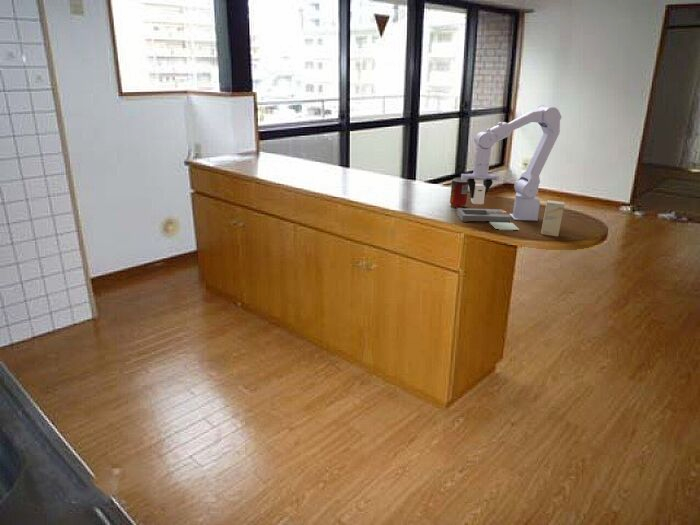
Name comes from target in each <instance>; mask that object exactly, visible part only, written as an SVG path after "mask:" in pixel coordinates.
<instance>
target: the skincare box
mask: <svg viewBox="0 0 700 525" xmlns="http://www.w3.org/2000/svg"><path fill="white" fill-rule="evenodd" d="M565 205H566V202H565V201H557V200H550V199H549V200H548V199H547V200H546V204H545V209H544V214H543V220H542V225H541V231H540V233H541V235H545V236H552V237H559V234H560V229H561V225H562V224H561V223H562V220H563V219H562V218H563V216H564V210H565Z"/></svg>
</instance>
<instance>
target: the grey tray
mask: <svg viewBox="0 0 700 525" xmlns="http://www.w3.org/2000/svg"><path fill="white" fill-rule="evenodd" d="M456 215H457V217H458V216H459V217H460V218H459V217H458V218H459V220H460V221H461V220H462V221H461V222H467V221H490V222H510V223H511V218H512V217H511V216H510V215H509V214H508V212H507V211H506V210H504V209H496V208H491V209H490V208H465V207H464V208H456Z"/></svg>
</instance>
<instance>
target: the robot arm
mask: <svg viewBox="0 0 700 525" xmlns="http://www.w3.org/2000/svg"><path fill="white" fill-rule="evenodd" d="M561 120H562V115H561V112H560V110H559V109H558V107H554V106H551V107H550V106H547V105H539V106H537V107H534V108H532V109H531V110H529V111H527V112H526V113H524V114H522V115H521V116H518V117H517V118H515V119H513V120H511V121H510V122H506V121H499V122H497V124H496V125H495V126H492V127H490V128H487V129H486V131H479V132H478V133H477V135H476V136H475V138H474V143H475V145H476V146H475V154H474V162H473V170H472V171H473V172H472V173H461V174H460V178H461V179H462V180H465V179H467V182H468V189H469V193H470V194H469V195H470V199H471V198H473V197H474V188H475V184H477V183H476V181H482V182H483V183H482V184H483V185H484V186H485V187H486V189H485V197H484V200H485V199H486V197H487V193H488V191H489V189H490V188H491V186H492V185H493V181H496V182H498V181H499V180H500V175H499V174H491V173H490V174H489V167H490V161H491V151H492V148H493V146H494V145H495V144H496V143H497V142H500V141H501V140H503V139H506V138H508V137H510V136H511V135H512V133H513V131H515V130H517V129H519V128H521V127H524V126H526V125H528V124H530V123H537V124H538V125H539V126H540V128H541V130H542V132H543V134H542V136H541V138H540V139H539V142H538V145H537V147H536V149H535V151H534V153H533V154H532V155H533V156H532V157H531V159H530V161H529V163H528V165H527V168H526V170H525V171H523V172H522V173H521V174H520V177H519V178H518V179H516V181H514V184H513V185H514V186H513V189H514V190H515V192H516V193H515V196H514V204H513V210H512V213H509V214H508V215H509V216H510V217H511V218H512V219H513V220H515V221H538V220H539V219H538V218H539V212H540V207H541V206H540V202H541V201H540V198H539V196H538V197H537V194H538V193H539V186H540V183H541V180H540V174H541V173H542V171H543V169H544V166H545V164H546V162H547V161H548V158H549V157H550V154H551V152H552V150H553V148H554V145H555V144H556V142H557V140H558V137H559V135H560V131H561V129H560V128H561Z"/></svg>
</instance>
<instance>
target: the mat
mask: <svg viewBox="0 0 700 525" xmlns="http://www.w3.org/2000/svg"><path fill="white" fill-rule="evenodd" d="M488 223H489V225H490V226H491V225H492V226H493V227H494V228H495V229H499V230H498V231H513V230H518V232H519V231H520V228H519V227H517V225H515V223H513V222H510V223H509V222H488ZM492 226H491V227H492ZM493 227H492V228H493ZM494 228H493V229H494ZM495 229H494V230H495Z"/></svg>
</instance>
